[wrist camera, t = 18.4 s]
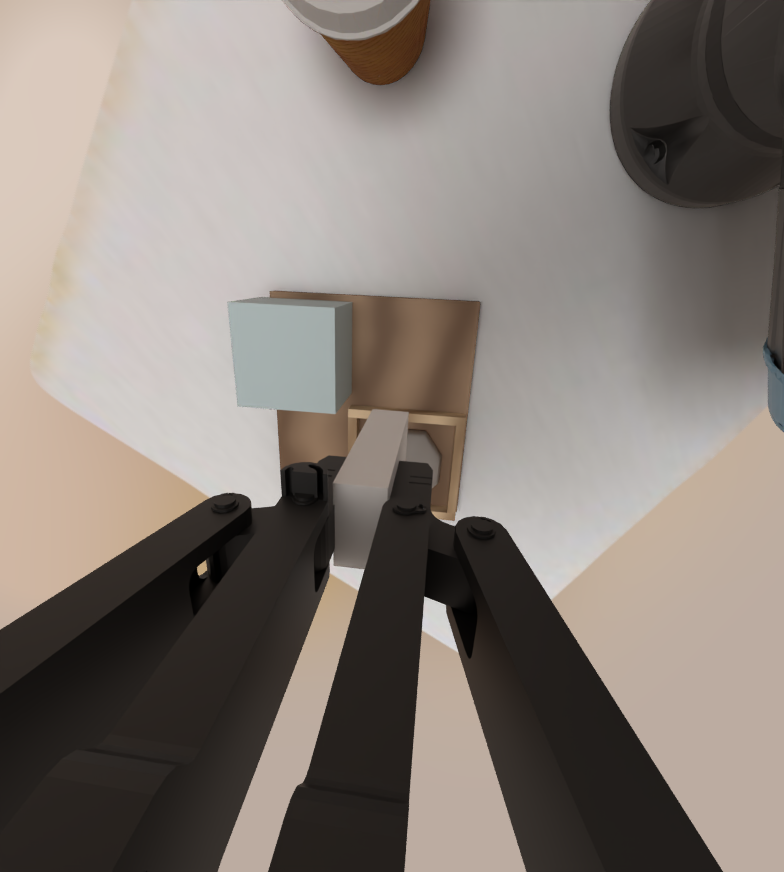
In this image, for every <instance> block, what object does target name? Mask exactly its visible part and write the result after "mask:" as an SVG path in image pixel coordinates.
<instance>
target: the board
mask: <svg viewBox="0 0 784 872" xmlns="http://www.w3.org/2000/svg"><path fill="white" fill-rule="evenodd" d="M270 298H287V299H305V300H324V301H343V302H352V393H351V394H350V396H349V397H348V398H347V400H346V401H345V402H344V404H343V405H342V406H341V407H340V409H339V410H338V411H337V413H336V414H328V413H315V412H302V411H290V410H277V420H278V436H279V453H280V469H282V468H284V467H285V466H288V465H290V464H293V463H299V462H313V463H318V461H319V460H321V459H323V458H325V457H327V456H328V455H330V456H341V457H347V456H348V454H349V452H350V450H351V448H352V446H353V445H354V443H355V441H356V439H357V437H358V435H359V434H360V432H361V430H362V428H363V426H364V424H365V422H366V421H367V419H368V417H369V415H370V413H371V411H372V409H378V410H390V411H403V412H409V416H408V429H409V430H419V431H426V432H427V433H428V435H429V436H430V438H431V440H432V441H433V443H434V444H435V446H436V447H437V449H438V450H439V452H440V453H441V455H442V460H441V468H440V477H439V483H438V484H437V485H436V486H434V487H433V488H432V494H431V512H432V514H433V515H434V516H435V517H436V518H437V519H442V520H452V521H454V520H455V512H457V503H458V495H459V486H460V477H461V468H462V460H463V451H464V442H465V433H466V425H467V416H468V407H469V398H470V390H471V381H472V372H473V363H474V355H475V346H476V337H477V329H478V320H479V311H480V302H479V301H461V300H442V299H422V298H403V297H384V296H365V295H345V294H326V293H307V292H287V291H270Z"/></svg>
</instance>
